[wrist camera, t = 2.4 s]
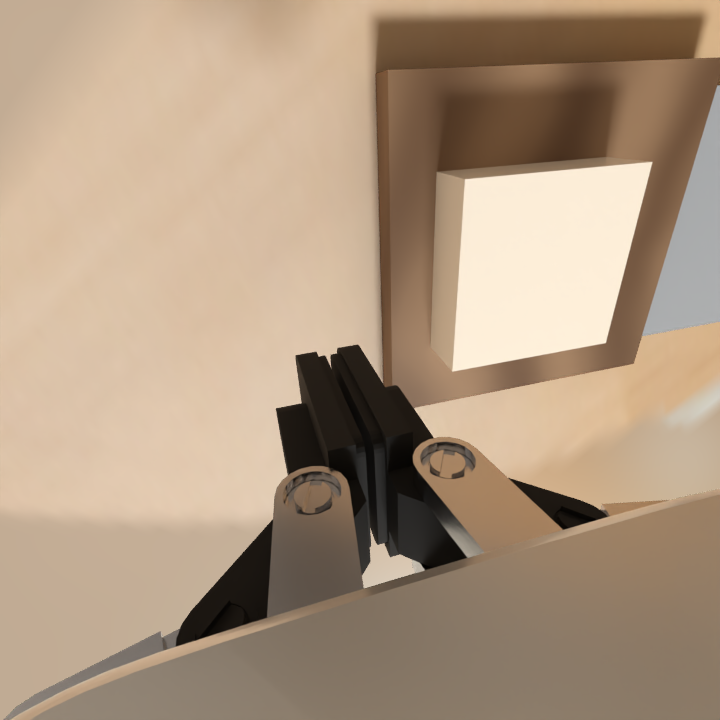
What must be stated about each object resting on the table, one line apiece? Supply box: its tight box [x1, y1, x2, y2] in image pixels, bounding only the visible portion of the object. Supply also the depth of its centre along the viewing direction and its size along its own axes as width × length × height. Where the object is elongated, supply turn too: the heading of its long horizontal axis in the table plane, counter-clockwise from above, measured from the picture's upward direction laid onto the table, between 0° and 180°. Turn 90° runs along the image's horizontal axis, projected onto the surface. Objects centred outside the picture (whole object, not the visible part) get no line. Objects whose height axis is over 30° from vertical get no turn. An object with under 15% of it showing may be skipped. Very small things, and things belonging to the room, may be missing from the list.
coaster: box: [430, 157, 652, 372], centre depth 19 cm, size 8×8×2 cm
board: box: [376, 58, 720, 408], centre depth 21 cm, size 15×15×2 cm
